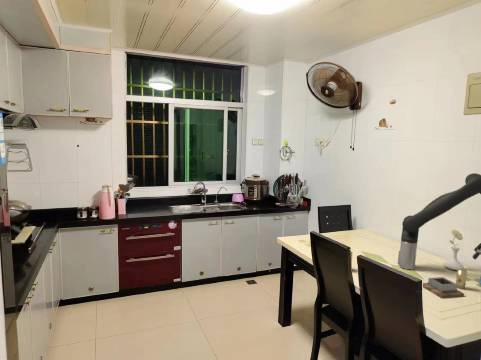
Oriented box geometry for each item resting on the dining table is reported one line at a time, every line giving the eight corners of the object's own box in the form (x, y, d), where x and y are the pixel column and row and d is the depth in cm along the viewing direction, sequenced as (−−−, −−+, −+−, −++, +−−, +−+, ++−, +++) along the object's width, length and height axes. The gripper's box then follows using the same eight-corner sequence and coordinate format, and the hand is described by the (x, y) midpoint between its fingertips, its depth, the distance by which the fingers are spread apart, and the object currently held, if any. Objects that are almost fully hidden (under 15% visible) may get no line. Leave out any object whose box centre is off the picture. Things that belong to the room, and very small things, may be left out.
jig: (420, 285, 180) (421, 276, 179) (442, 284, 182) (443, 275, 182) (441, 298, 166) (442, 288, 165) (463, 296, 169) (465, 286, 168)
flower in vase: (467, 273, 200) (472, 234, 197) (446, 270, 202) (451, 232, 199) (457, 265, 213) (462, 228, 210) (438, 263, 215) (442, 226, 212)
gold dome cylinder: (453, 286, 181) (455, 269, 179) (459, 285, 182) (462, 268, 180) (460, 289, 176) (462, 272, 175) (466, 289, 177) (469, 271, 176)
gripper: (484, 232, 187) (466, 252, 186) (509, 240, 173) (489, 261, 172) (491, 241, 188) (472, 260, 187) (516, 249, 174) (496, 270, 174)
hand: (480, 261), depth 180 cm, fingers open, 8 cm apart
